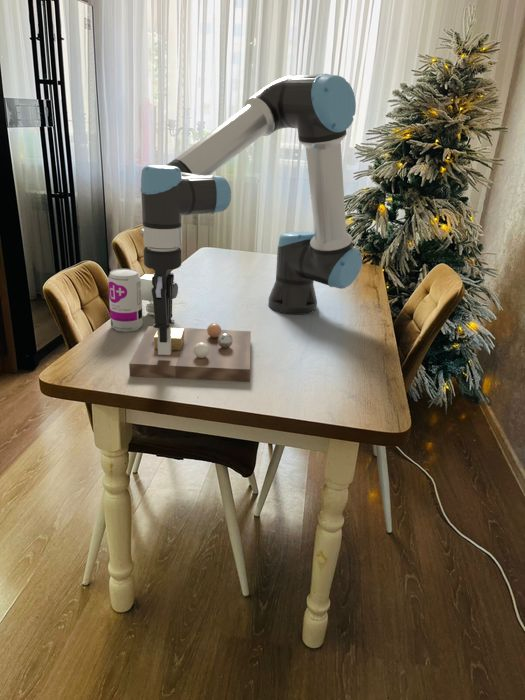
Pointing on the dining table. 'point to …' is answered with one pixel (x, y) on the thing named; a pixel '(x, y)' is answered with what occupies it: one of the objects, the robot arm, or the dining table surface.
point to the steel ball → (225, 340)
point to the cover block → (173, 339)
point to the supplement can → (125, 300)
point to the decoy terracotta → (214, 330)
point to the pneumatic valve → (147, 292)
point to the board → (194, 357)
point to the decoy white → (201, 350)
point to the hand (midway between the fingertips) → (164, 353)
